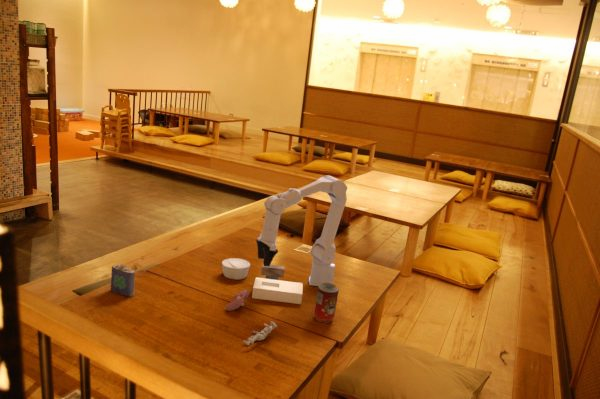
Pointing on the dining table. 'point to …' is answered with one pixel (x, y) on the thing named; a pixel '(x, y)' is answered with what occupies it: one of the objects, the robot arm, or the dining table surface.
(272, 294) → the white rectangular box
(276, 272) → the rail end
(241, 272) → the ramekin
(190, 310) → the dining table surface
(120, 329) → the dining table surface
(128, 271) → the flask
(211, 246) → the dining table surface
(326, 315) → the soda can
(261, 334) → the soldier figure
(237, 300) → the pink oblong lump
